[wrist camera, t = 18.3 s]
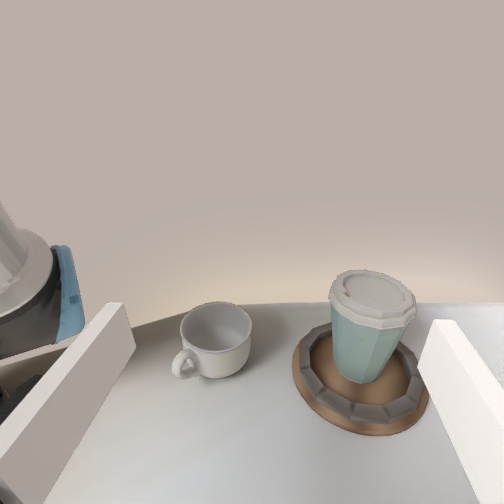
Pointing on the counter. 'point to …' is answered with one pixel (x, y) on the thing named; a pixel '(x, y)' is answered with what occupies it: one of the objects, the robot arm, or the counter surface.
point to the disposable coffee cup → (367, 322)
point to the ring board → (359, 388)
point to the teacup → (213, 341)
